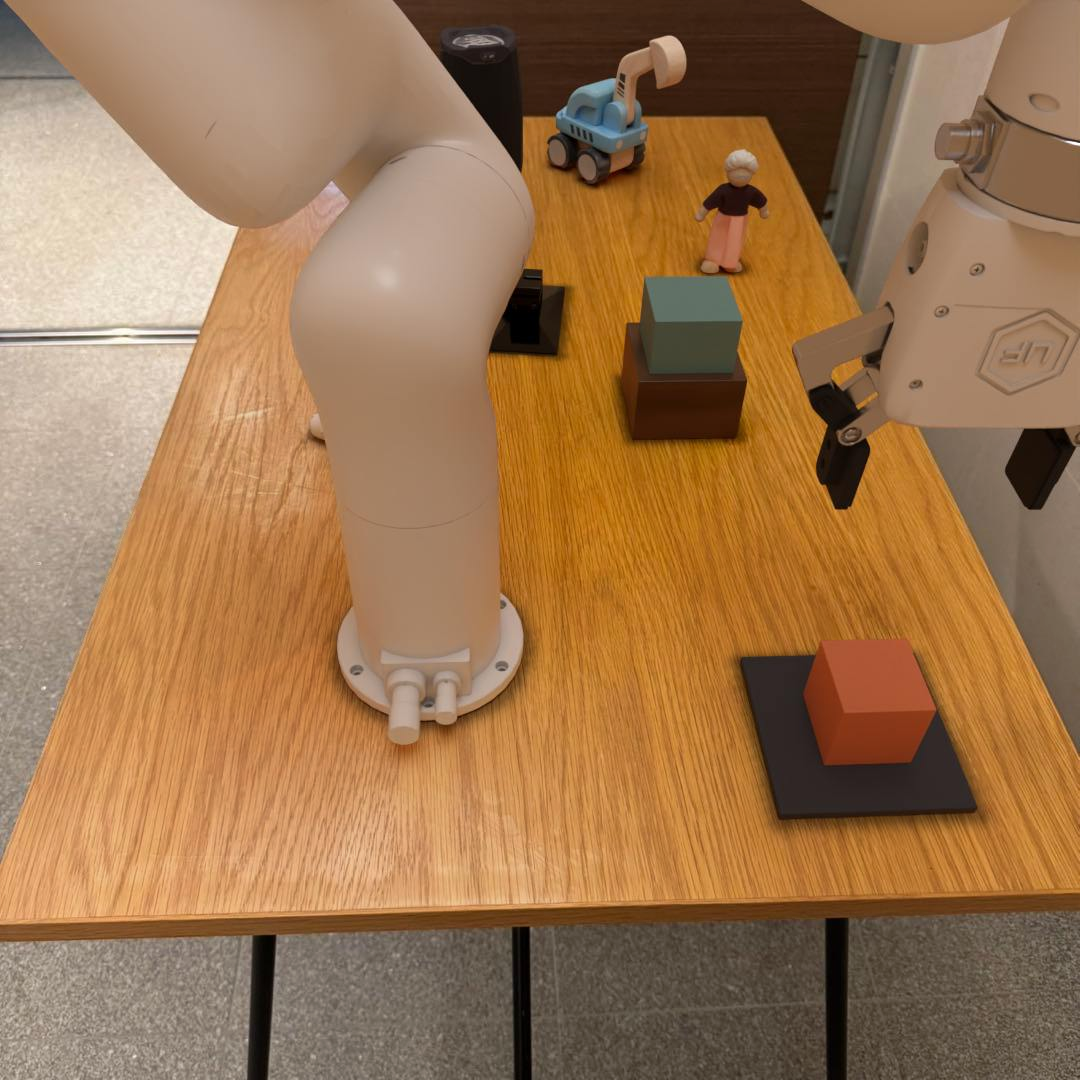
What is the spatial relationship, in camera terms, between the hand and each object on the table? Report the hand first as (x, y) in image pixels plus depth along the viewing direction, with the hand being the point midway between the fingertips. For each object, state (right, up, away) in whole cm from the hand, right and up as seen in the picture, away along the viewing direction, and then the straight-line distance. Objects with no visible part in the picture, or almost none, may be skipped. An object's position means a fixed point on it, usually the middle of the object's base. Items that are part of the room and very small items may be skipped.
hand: (928, 491), depth 50 cm
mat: (0, -15, +14) cm, 20 cm away
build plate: (-21, +19, +49) cm, 57 cm away
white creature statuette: (-33, +7, +36) cm, 50 cm away
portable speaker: (-26, +35, +65) cm, 78 cm away
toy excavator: (-11, +43, +73) cm, 85 cm away
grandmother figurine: (0, +27, +57) cm, 63 cm away
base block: (-7, +9, +39) cm, 40 cm away
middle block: (-7, +14, +35) cm, 38 cm away
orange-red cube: (+1, -14, +13) cm, 20 cm away
